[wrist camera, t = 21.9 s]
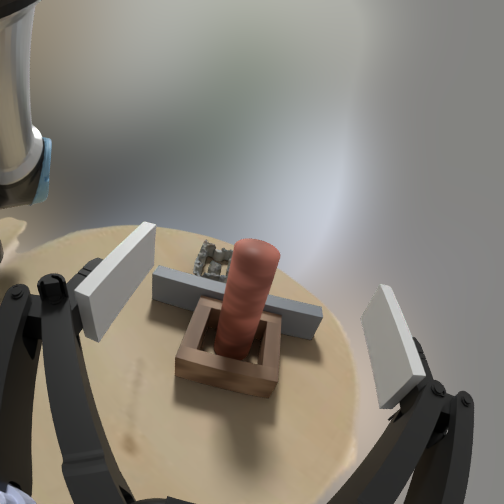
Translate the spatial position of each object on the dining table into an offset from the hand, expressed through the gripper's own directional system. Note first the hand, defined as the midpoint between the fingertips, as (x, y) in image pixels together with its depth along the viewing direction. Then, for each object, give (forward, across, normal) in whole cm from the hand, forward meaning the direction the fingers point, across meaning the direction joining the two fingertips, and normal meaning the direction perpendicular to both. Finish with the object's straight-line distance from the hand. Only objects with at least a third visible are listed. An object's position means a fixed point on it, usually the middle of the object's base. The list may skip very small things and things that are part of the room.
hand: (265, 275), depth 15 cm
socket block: (+12, 0, -22) cm, 25 cm away
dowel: (+13, 0, -22) cm, 26 cm away
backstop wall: (+20, -1, -22) cm, 30 cm away
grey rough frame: (+30, -6, -23) cm, 38 cm away
